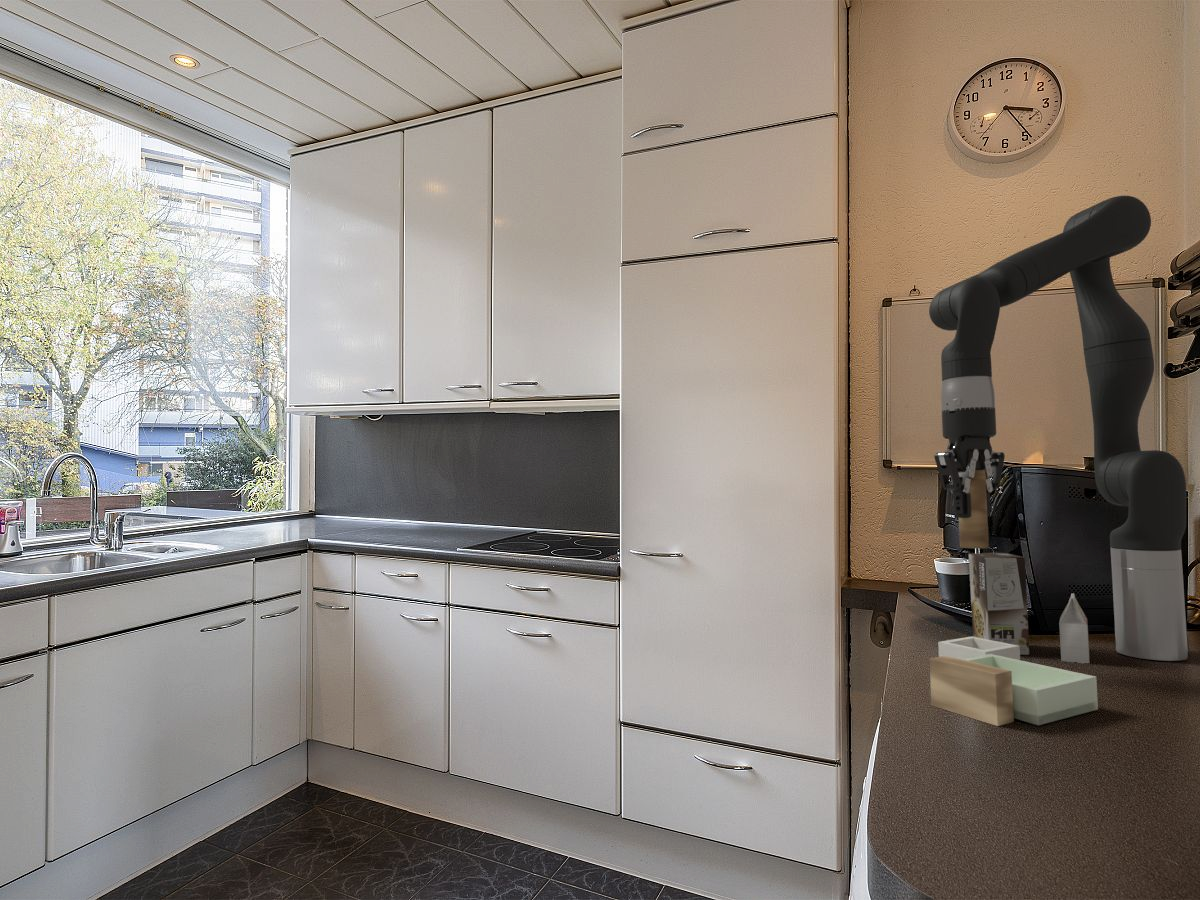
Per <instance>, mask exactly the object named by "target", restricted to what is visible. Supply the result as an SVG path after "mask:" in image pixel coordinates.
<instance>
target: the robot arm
mask: <svg viewBox="0 0 1200 900" xmlns="http://www.w3.org/2000/svg"><path fill="white" fill-rule="evenodd" d="M1151 226H1152V218H1151V213H1150V210H1149V208H1148V207H1147V205H1146V204H1145V203H1144V202H1143V201H1142V200H1141V199H1139V198H1138V197H1135V196H1131V195H1117V196H1113V197H1109V198H1107V199H1105V200H1103V201H1100V202H1098V203H1097V204H1094V205H1091V206H1090V207H1087V208H1085V209H1083V210H1081V211H1079V212H1077V213H1075V214H1074V215H1072V216H1070V217H1069V218H1068V219H1067V221H1066V223H1064V227H1063V231H1062V232H1060V233H1059V234H1056V235H1054V236H1053V237H1049V238H1047V239H1045V240H1043V241H1041V242H1038V243H1036V244H1034V245H1033V244H1032V245H1030V246H1029V247H1026V248H1024V249H1022V250H1019V251H1017V252H1015V253H1013V254H1011V255H1009V256H1007V257H1005V258H1004V259H1001V260H1000V261H998V262H996V263H994V264H992V265H991V266H990V267H988V268H986V269H984V270H982V271H981V272H979V273H977V274H975V275H972V276H970V277H968V278H966V279H963V280H961V281H959V282H956V283H955V284H953V285H950V286H947V287H946V288H943V289H941V290H939V292H938V293H936V294H935V296H934V297H933V298H932V300H931V302H930V305H929V306H928V307H929V309H928V310H929V311H928V315H929V318H930V320H931V322H932V323H933V324H934V325H935V327H937V328H939V329H941V330H943V331H944V330H945V331H950V332H951V331H955V336H954V338H953V339H952V340H951V341H950V342H949V343H947V344H946V345H945V346H944V347H943V349H942V350H941V353H940V354H941V355H940V356H941V357H940V359H941V360H940V361H941V391H940V393H941V394H940V403H941V405H940V406H941V408H940V409H941V425H942V427H941V429H942V430H941V431H942V437H943V439H945V440H948V443H947V447H946V450H945V451H940V452H935V454H934V455H933V457H934V461H935V463H936V464H935V465H936V468H937V471H938V475H939V478H940V482H941V486H942V489H943V490H949V491H950V492H951V494H952V495H953V508H954V509H953V510H954V515H955V517H956V518H958V519H959V518H969V517H971V503H970V494H967V493H968V492H969V489H970V482H971V479H973V478H974V474H975V470H985V476H986V497H987V518H988V517H990V515H991V493H992V492H993V490H994V489H999V488H1000V486H1001V479H1002V474H1003V468H1004V463H1005V455H1006V454H1005V453H1004V452H1003V451H1000V452H999V451H997V452H996V451H994V450H993V447H992V444H991V441H990V439H991V438H993V437H995V436H996V435H997V418H996V397H995V394H996V393H995V387H994V382H993V371H992V355H991V353H992V347H993V344H994V342H995V341H994V340H995V335H996V332H997V326H998V321H999V317H1000V312H1001V308H1003V307H1007V306H1009V305H1012V304H1014V303H1016V302H1018V301H1020V300H1022V299H1024V298H1026V297H1028V296H1030V295H1032V294H1033V293H1036V292H1037V291H1039V290H1041V289H1042V288H1044V287H1046V286H1048V285H1050V284H1052V283H1053V282H1055V281H1056V280H1059V279H1060V278H1062V277H1063V276H1065V275H1067V274H1068V273H1069V275H1070V279H1071V283H1072V287H1073V290H1074V296H1075V300H1076V305H1077V311H1078V317H1079V323H1080V327H1081V337H1082V346H1083V349H1082V350H1083V356H1084V363H1085V364H1084V365H1085V370H1086V376H1087V380H1088V387H1089V393H1090V395H1089V396H1090V405H1091V406H1090V407H1091V415H1092V423H1093V425H1092V427H1093V461H1094V462H1093V465H1094V469H1093V470H1094V479H1095V484H1096V487H1097V490H1098V492H1099V493H1100V495H1101V496H1102V498H1103V499H1105V501H1107V502H1108V503H1110V504H1112V505H1115V506H1120V507H1128V514H1127V515H1128V516H1127V519H1126V520H1125V522H1124V523H1123V524H1121V526H1119V527H1116V528H1115V529H1113V530H1111V532H1110V534H1109V546H1110V547H1109V548H1110V558H1111V559H1110V561H1111V562H1110V565H1111V579H1112V580H1111V582H1112V595H1113V597H1112V598H1113V600H1112V601H1113V615H1114V634H1115V635H1114V637H1115V651H1116V652H1117V653H1119V654H1122V655H1124V656H1127V657H1132V658H1136V659H1137V658H1138V659H1144V660H1153V661H1166V662H1167V661H1168V662H1172V661H1173V662H1174V661H1175V662H1177V661H1184V660H1188V657H1189V656H1188V652H1189V651H1188V650H1189V649H1188V637H1187V619H1186V606H1185V605H1186V603H1185V589H1184V587H1185V586H1184V574H1183V558H1182V557H1183V555H1182V539H1183V536H1184V534H1185V532H1186V529H1187V528H1186V527H1187V482H1186V479H1187V478H1186V474H1185V470H1184V469H1183V465H1182V464H1181V463H1180V461H1179V460H1178V459H1177V458H1176V457H1175V455H1173V454H1171V453H1169V452H1167V451H1163V450H1158V449H1157V450H1156V449H1155V450H1150V449H1149V450H1141V446H1140V445H1141V444H1140V436H1139V419H1140V418H1139V417H1140V413H1141V409H1142V408H1143V407H1142V406H1143V404H1144V403H1145V402H1144V401H1145V399H1146V397H1147V394H1148V392H1149V389H1150V386H1151V384H1152V382H1153V377H1154V373H1155V372H1154V371H1155V359H1154V353H1153V345H1152V337H1151V333H1150V330H1149V327H1148V326H1147V324H1146V322H1145V321H1144V320H1143V318H1142V317H1141V316H1140V315H1139V314H1138V313H1137V311H1136V310H1135V309H1134V308H1132V307H1131V305H1129V303H1127V301H1126V300H1125V299H1124V298H1123V297H1122V295H1121V294H1120V293H1119V291H1118V289H1117V288H1116V285H1115V282H1114V278H1113V274H1112V269H1111V262H1110V261H1111V259H1110V258H1112V257H1115V256H1118V255H1121V254H1124V253H1125V252H1128V251H1130V250H1132V249H1134V248H1136V247H1137V246H1138V245H1140V244H1141V243H1142V242H1143V241H1144V240H1145V239H1146V237H1147V236H1148V235H1149V232H1150V230H1151ZM958 471H966V472H961V473H958ZM991 477H992V479H991ZM949 478H951V481H950V479H949ZM960 479H963V482H962V484H961V481H960Z"/></svg>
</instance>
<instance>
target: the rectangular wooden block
mask: <svg viewBox="0 0 1200 900" xmlns="http://www.w3.org/2000/svg"><path fill="white" fill-rule="evenodd" d="M928 659H929V677H930V678H929V680H930V681H929V682H930V702H931V706H932V707H935V708H938V709H941V710H944V711H947V712H951V713H953V714H958V715H961V716H964V717H968V718H971V719H973V720H977V721H980V722H983V723H987V724H989V725H993V726H996V727H999V726H1003V725H1007V724H1011V723H1014V722H1015V718H1014V713H1013V693H1012V672H1011V671H1010V670H1005V669H1001V668H997V667H992V666H988V665H984V664H979V663H975V662H971V661H967V660H962V659H958V658H954V657H949V656H940V657H939V656H936V657H935V656H934V657H930V658H928Z"/></svg>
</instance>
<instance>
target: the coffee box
mask: <svg viewBox="0 0 1200 900" xmlns="http://www.w3.org/2000/svg"><path fill="white" fill-rule="evenodd" d="M968 567H969V569H968V570H969V571H968V572H969V582H970V583H969V587H970V603H971V604H970V605H971V620H972V621H971V622H972V637H977V638H982V639H987V640H992V641H998V642H1003V643H1008V644H1013V645H1018V646H1020V656H1030V642H1029V641H1030V639H1029V619H1028V616H1029V614H1028V596H1027V595H1028V594H1027V574H1026V572H1027V571H1026V557H1024V556H1020V555H1017V554H1012V553H1008V552H982V553H971V552H970V553H968Z"/></svg>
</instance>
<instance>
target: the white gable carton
mask: <svg viewBox="0 0 1200 900" xmlns="http://www.w3.org/2000/svg"><path fill="white" fill-rule="evenodd" d="M1058 625H1059V628H1058V629H1059V641H1060V642H1059V643H1060V660H1061V662H1065V661H1066V662H1067V663H1074V662H1077V663H1076V664H1084V663H1089V664H1090V649H1089V648H1090V645H1089V644H1090V643H1089V628H1088V627H1089V626H1088V618H1087V616H1086V615H1085V612H1084V611H1083V609H1082V608H1081V606H1080V604H1079V602H1078V600H1077V597H1076V595H1075V593H1072V592H1071V594H1070V597H1069V600H1068V603H1067V604H1066V606H1065V608H1064V610H1063V612H1062V613H1061V615H1060V617H1059V623H1058Z"/></svg>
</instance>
